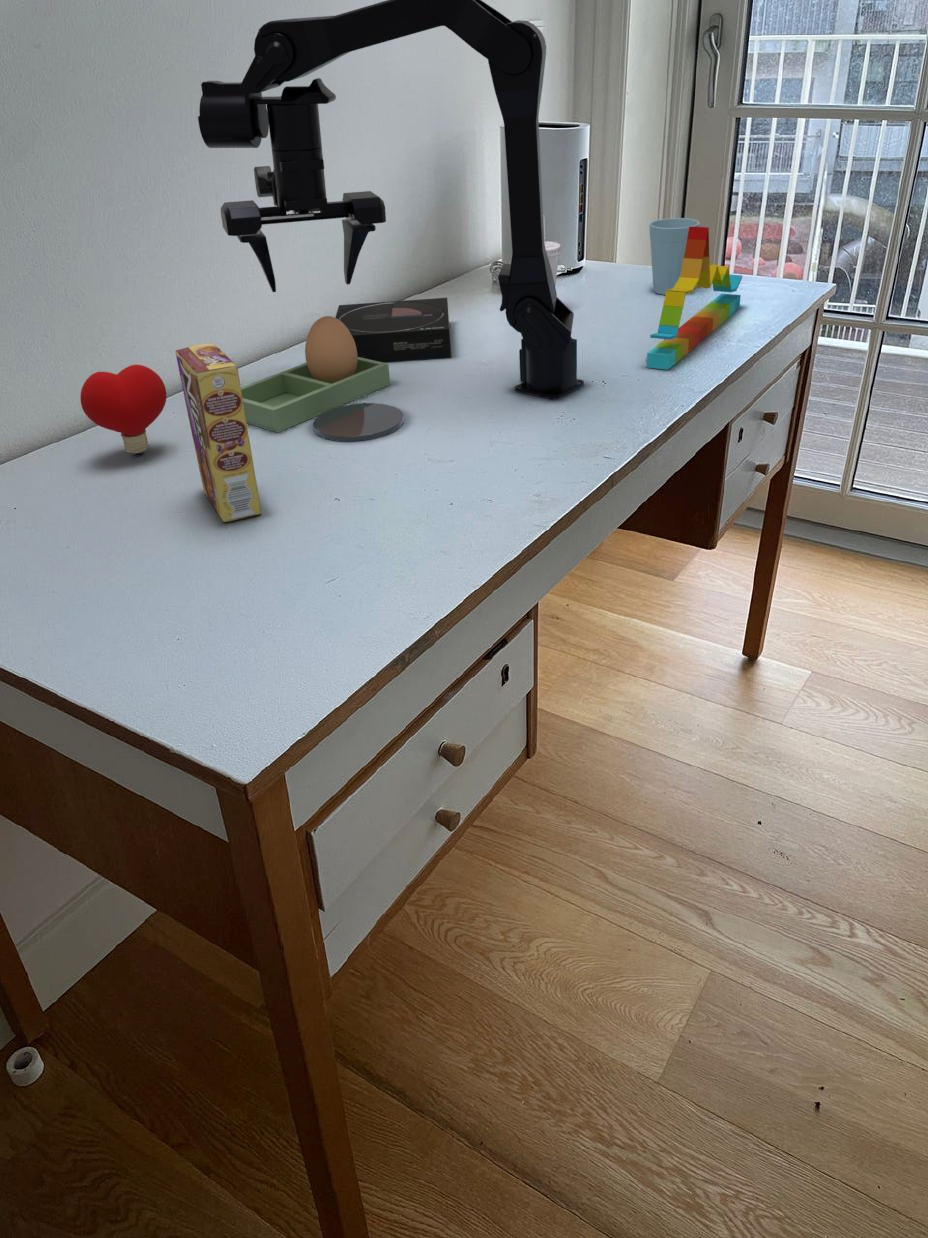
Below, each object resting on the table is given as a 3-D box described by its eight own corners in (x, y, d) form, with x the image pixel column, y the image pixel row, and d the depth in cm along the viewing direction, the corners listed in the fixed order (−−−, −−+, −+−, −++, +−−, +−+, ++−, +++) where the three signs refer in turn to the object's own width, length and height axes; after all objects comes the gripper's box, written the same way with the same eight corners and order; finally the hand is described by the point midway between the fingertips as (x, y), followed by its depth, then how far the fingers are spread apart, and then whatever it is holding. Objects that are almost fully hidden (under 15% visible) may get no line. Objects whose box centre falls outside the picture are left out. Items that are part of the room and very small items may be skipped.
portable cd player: (449, 322, 150) (447, 296, 148) (451, 357, 136) (449, 328, 134) (342, 330, 151) (339, 303, 148) (333, 365, 136) (329, 337, 134)
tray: (390, 384, 128) (388, 363, 127) (277, 432, 116) (273, 410, 115) (337, 371, 134) (334, 351, 132) (224, 416, 122) (220, 394, 120)
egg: (300, 391, 127) (288, 321, 122) (331, 375, 132) (322, 307, 127) (340, 398, 124) (330, 326, 119) (371, 381, 129) (363, 311, 124)
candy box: (266, 514, 98) (238, 364, 90) (224, 524, 96) (191, 373, 88) (242, 482, 105) (214, 340, 96) (203, 492, 103) (171, 348, 95)
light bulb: (103, 474, 109) (79, 387, 103) (92, 453, 114) (68, 370, 109) (186, 454, 112) (166, 369, 107) (171, 435, 117) (152, 353, 112)
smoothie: (559, 316, 150) (558, 219, 142) (517, 316, 151) (514, 220, 144) (563, 304, 155) (563, 210, 148) (523, 304, 156) (521, 211, 149)
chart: (718, 305, 149) (727, 200, 141) (739, 307, 148) (749, 201, 140) (644, 367, 128) (649, 247, 120) (668, 370, 126) (674, 248, 118)
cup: (637, 293, 158) (640, 225, 152) (662, 282, 163) (665, 215, 157) (678, 299, 154) (683, 229, 148) (703, 288, 158) (708, 220, 153)
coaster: (422, 418, 117) (421, 413, 117) (358, 448, 111) (357, 443, 110) (359, 401, 123) (358, 397, 123) (295, 429, 117) (294, 424, 116)
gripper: (359, 134, 121) (369, 265, 129) (206, 144, 116) (226, 279, 124) (382, 145, 112) (390, 285, 120) (217, 156, 107) (238, 301, 115)
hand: (311, 287), depth 120 cm, fingers open, 9 cm apart
